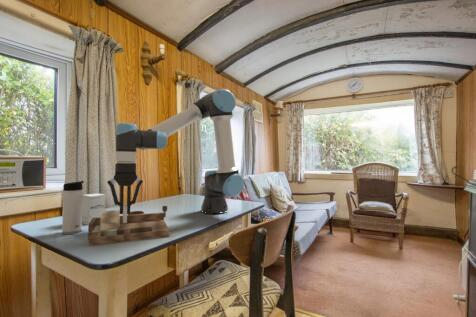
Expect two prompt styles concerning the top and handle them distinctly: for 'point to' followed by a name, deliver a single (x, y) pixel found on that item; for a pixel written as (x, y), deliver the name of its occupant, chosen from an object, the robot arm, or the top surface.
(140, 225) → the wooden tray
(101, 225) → the beech block
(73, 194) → the travel mug
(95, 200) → the supplement box
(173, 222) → the top surface
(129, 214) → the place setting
